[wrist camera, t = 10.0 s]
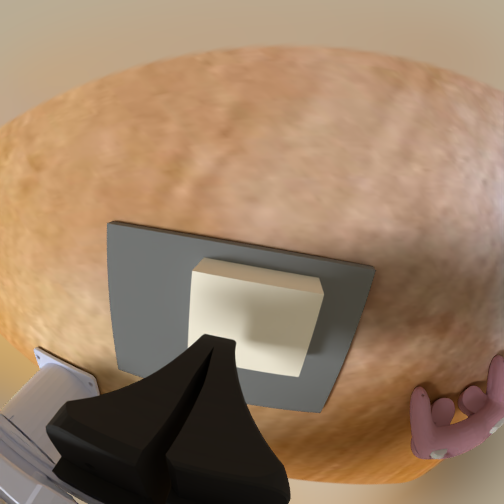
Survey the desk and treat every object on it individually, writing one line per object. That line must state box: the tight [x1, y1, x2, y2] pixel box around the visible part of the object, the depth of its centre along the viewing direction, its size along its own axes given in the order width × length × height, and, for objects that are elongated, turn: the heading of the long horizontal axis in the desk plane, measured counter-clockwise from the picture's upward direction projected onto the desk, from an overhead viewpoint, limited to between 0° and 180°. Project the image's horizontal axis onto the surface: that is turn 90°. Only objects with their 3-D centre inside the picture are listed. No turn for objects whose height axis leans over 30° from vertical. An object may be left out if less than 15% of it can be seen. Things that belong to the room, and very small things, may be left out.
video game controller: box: [410, 355, 504, 459], centre depth 14 cm, size 10×5×7 cm, turn 101°
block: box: [188, 258, 324, 377], centre depth 14 cm, size 5×2×6 cm
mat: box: [107, 221, 376, 413], centre depth 16 cm, size 11×15×1 cm
